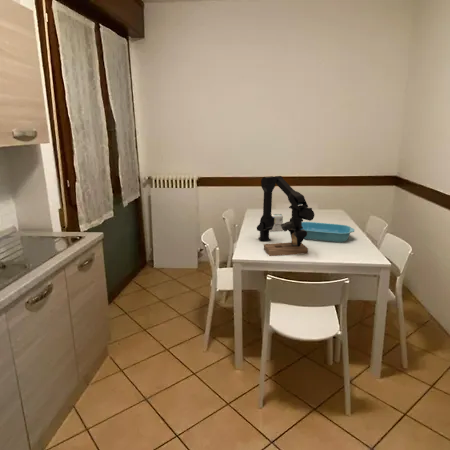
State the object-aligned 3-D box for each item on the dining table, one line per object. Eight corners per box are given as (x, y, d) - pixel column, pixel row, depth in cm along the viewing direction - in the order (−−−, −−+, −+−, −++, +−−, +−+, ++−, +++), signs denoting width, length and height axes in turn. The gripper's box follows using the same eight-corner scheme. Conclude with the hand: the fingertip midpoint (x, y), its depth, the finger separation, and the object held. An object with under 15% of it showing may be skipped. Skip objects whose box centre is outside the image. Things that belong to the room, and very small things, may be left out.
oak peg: (290, 249, 210) (290, 232, 208) (298, 249, 211) (298, 232, 208) (292, 252, 206) (293, 235, 203) (300, 251, 206) (301, 234, 204)
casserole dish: (354, 235, 237) (355, 224, 235) (353, 245, 217) (354, 233, 215) (297, 230, 249) (297, 220, 248) (291, 239, 229) (291, 228, 227)
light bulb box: (281, 228, 254) (281, 213, 251) (282, 231, 247) (283, 215, 245) (265, 229, 254) (265, 213, 251) (267, 231, 247) (267, 216, 244)
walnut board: (263, 249, 212) (263, 244, 211) (300, 246, 215) (300, 241, 214) (269, 256, 200) (269, 250, 200) (307, 253, 203) (308, 248, 203)
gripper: (277, 214, 211) (277, 239, 215) (288, 222, 193) (287, 250, 197) (296, 213, 213) (295, 238, 217) (308, 221, 195) (306, 248, 199)
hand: (295, 243), depth 207 cm, fingers open, 9 cm apart
